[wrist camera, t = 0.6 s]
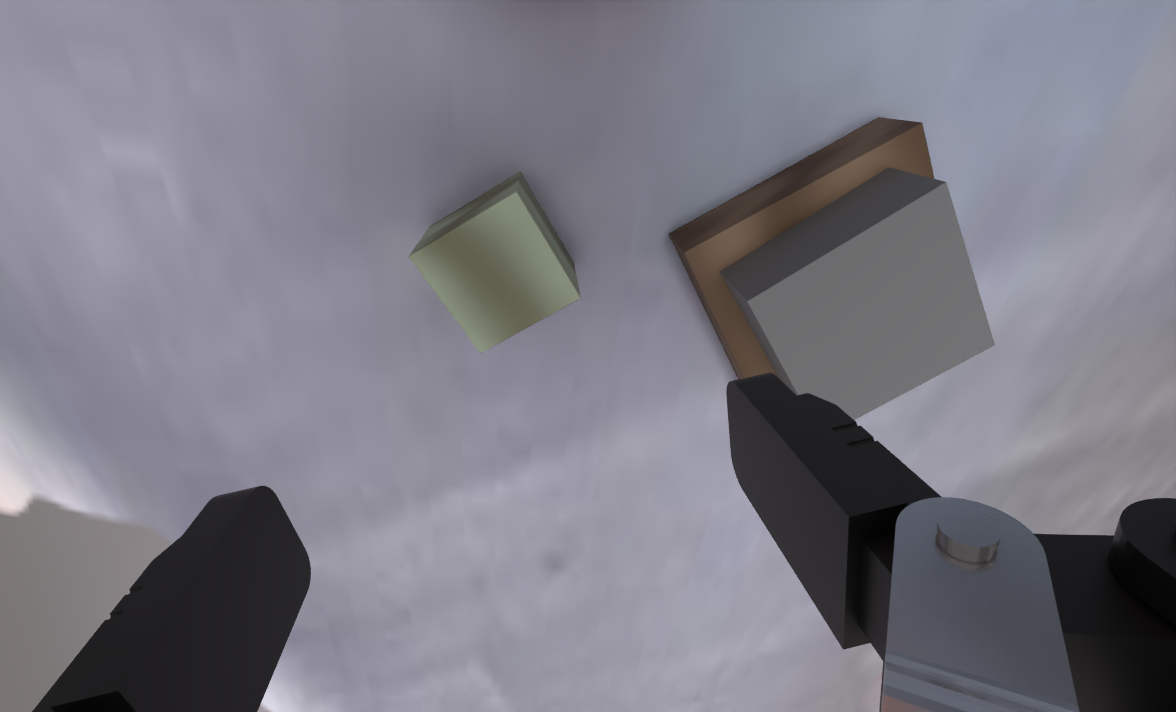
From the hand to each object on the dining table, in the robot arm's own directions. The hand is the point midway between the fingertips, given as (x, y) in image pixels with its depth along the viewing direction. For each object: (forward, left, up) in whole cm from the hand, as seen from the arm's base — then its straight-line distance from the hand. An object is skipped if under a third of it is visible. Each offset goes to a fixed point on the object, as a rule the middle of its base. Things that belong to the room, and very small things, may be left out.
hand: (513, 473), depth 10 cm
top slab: (-12, +11, -18) cm, 24 cm away
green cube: (+2, +1, -21) cm, 21 cm away
